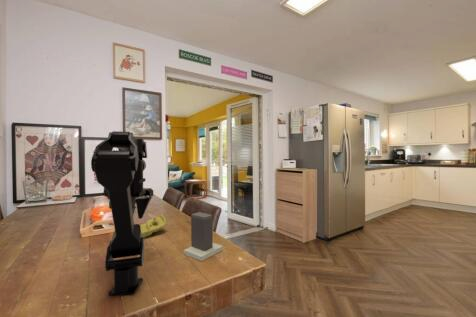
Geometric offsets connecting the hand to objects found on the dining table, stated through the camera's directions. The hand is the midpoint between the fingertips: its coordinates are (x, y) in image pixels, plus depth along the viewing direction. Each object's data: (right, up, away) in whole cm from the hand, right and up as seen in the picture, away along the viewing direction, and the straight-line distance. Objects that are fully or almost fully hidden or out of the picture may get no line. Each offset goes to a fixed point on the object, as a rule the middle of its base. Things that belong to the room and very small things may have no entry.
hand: (134, 222), depth 72 cm
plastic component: (-8, -13, +25) cm, 30 cm away
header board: (+22, -13, +8) cm, 27 cm away
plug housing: (+21, -11, +8) cm, 25 cm away
